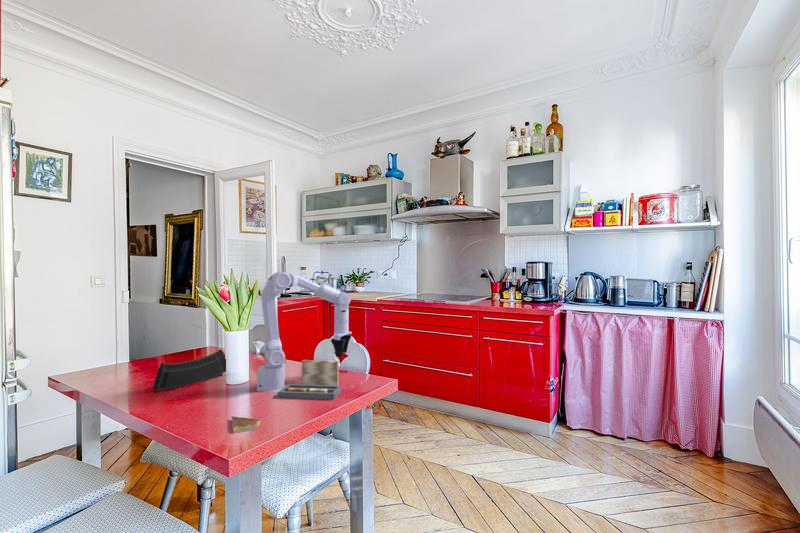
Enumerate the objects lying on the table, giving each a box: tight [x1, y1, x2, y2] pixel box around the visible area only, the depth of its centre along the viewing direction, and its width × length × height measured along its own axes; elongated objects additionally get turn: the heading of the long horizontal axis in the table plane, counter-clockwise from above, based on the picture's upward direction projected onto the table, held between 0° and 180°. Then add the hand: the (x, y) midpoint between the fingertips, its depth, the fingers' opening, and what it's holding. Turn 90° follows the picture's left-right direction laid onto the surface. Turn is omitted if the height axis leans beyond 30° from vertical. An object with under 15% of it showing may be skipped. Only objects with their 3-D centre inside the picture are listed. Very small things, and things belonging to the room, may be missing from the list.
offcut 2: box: [309, 388, 327, 393], centre depth 133 cm, size 6×2×2 cm, turn 84°
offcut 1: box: [288, 388, 307, 392], centre depth 134 cm, size 6×2×2 cm, turn 84°
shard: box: [231, 416, 261, 434], centre depth 111 cm, size 11×8×2 cm
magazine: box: [152, 349, 227, 392], centre depth 152 cm, size 17×3×30 cm
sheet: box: [301, 359, 340, 386], centre depth 147 cm, size 14×2×10 cm, turn 84°
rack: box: [277, 383, 342, 401], centre depth 136 cm, size 20×10×3 cm, turn 84°
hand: (341, 354), depth 155 cm, fingers open, 7 cm apart
